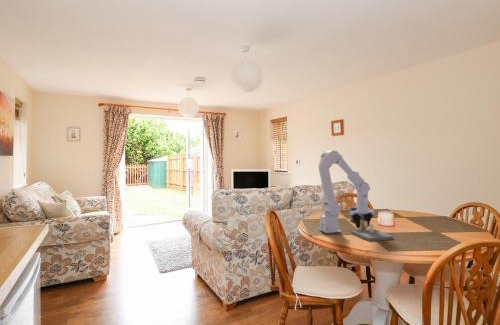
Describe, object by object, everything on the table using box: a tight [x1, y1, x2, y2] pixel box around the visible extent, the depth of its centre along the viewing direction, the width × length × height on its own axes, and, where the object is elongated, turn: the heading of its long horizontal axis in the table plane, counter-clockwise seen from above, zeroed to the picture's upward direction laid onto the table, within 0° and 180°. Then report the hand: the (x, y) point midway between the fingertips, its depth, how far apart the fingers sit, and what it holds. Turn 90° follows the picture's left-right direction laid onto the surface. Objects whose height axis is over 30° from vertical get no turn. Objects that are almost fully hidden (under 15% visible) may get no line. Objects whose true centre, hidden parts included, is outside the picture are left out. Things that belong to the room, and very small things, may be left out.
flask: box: [349, 204, 365, 223], centre depth 176 cm, size 9×3×11 cm, turn 65°
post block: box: [350, 223, 394, 242], centre depth 143 cm, size 14×14×6 cm
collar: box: [356, 220, 368, 231], centre depth 157 cm, size 5×5×5 cm
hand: (362, 227), depth 157 cm, fingers closed on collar, 5 cm apart
